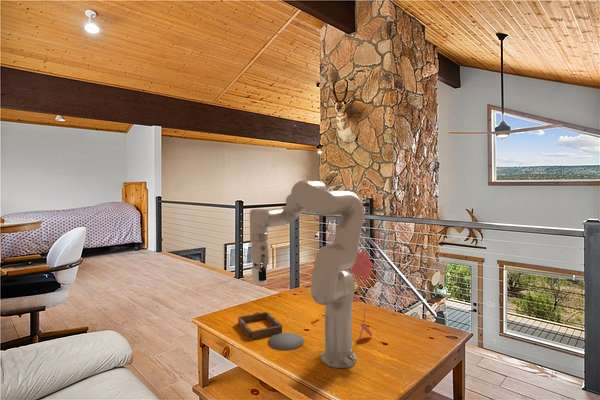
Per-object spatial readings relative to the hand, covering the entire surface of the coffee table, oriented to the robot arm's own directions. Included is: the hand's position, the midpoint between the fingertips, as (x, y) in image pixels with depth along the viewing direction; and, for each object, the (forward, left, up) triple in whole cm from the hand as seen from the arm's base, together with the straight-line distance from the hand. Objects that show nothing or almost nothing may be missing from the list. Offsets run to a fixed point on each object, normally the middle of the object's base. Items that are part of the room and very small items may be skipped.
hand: (259, 278), depth 146 cm
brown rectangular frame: (0, 0, -22) cm, 22 cm away
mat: (-17, -5, -22) cm, 28 cm away
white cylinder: (0, 0, -2) cm, 2 cm away
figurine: (-23, -37, -22) cm, 49 cm away
